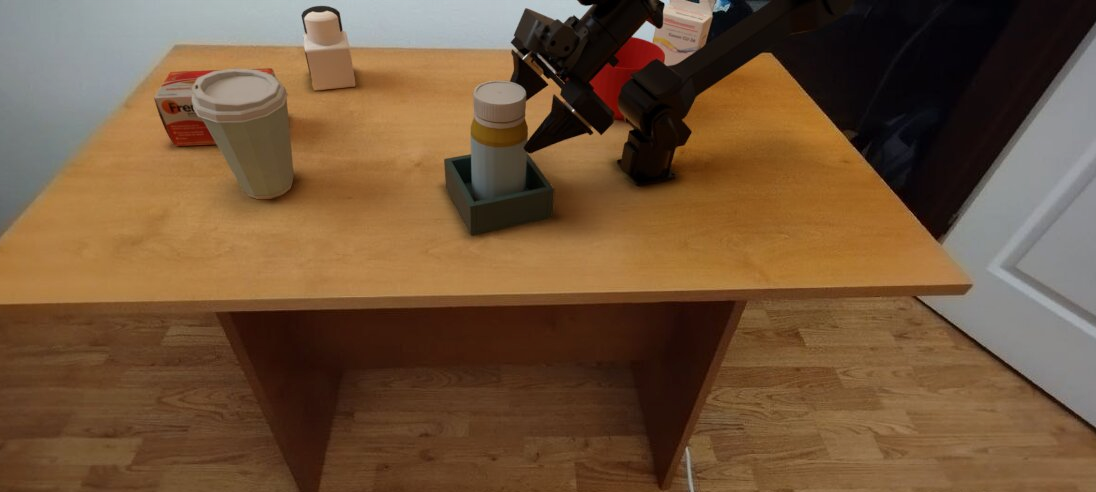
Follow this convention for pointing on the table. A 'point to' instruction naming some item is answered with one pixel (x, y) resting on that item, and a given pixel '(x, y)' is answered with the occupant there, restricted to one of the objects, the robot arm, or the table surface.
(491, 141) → the bottle
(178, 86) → the medicine box
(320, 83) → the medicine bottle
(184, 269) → the table surface
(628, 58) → the ceramic cup
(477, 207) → the box
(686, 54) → the ink cartridge box
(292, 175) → the disposable coffee cup
